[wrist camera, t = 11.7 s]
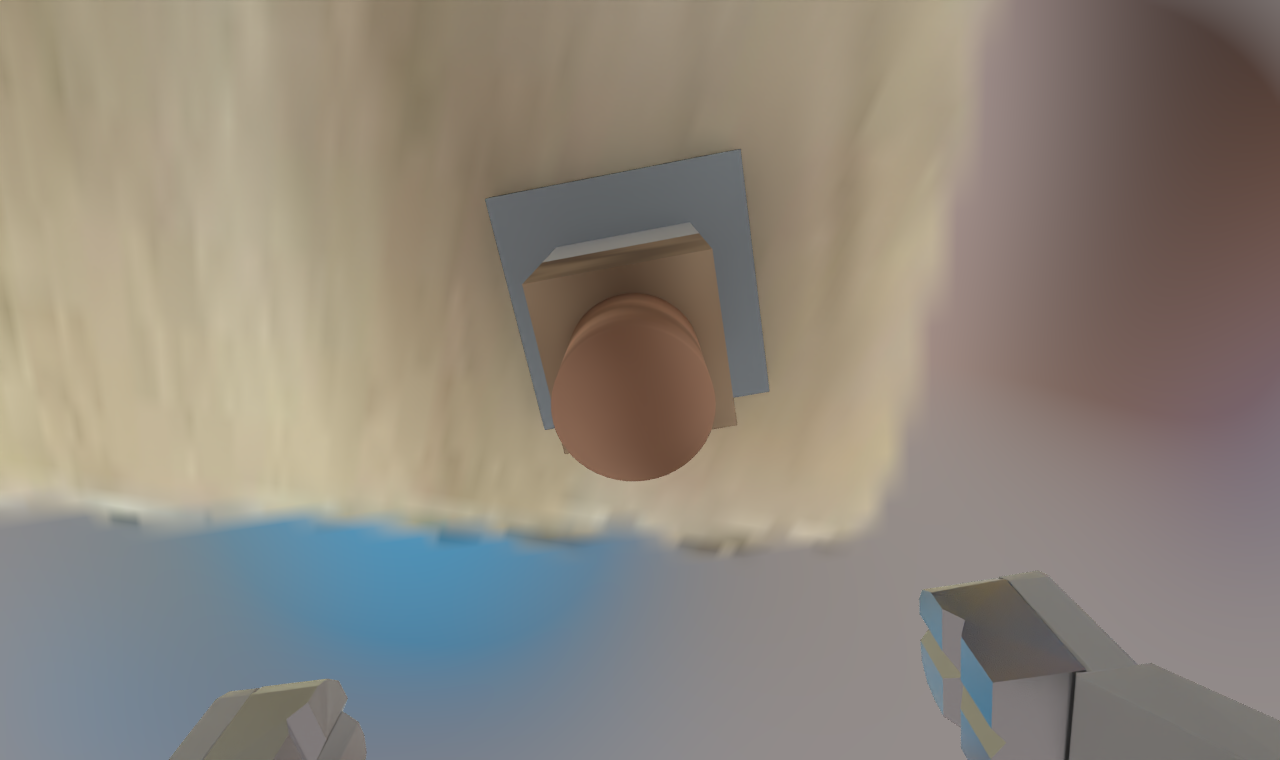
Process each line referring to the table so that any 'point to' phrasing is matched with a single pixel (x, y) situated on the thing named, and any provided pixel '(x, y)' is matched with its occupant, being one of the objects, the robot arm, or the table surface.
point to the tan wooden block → (646, 268)
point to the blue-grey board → (632, 205)
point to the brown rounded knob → (633, 390)
